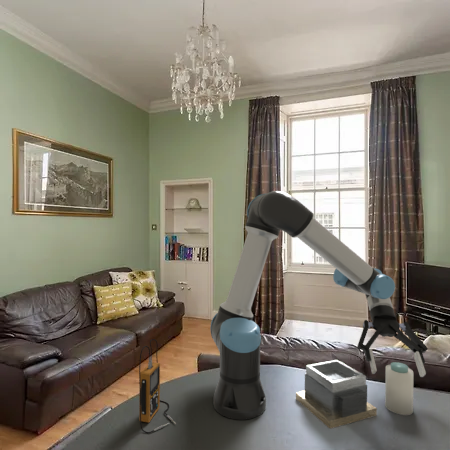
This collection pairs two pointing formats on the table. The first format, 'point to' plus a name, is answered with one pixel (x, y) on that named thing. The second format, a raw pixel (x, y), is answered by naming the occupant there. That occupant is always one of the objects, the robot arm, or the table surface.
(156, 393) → the multimeter
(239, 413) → the robot arm
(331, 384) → the grey open box
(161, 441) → the table surface
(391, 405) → the cream bottle
